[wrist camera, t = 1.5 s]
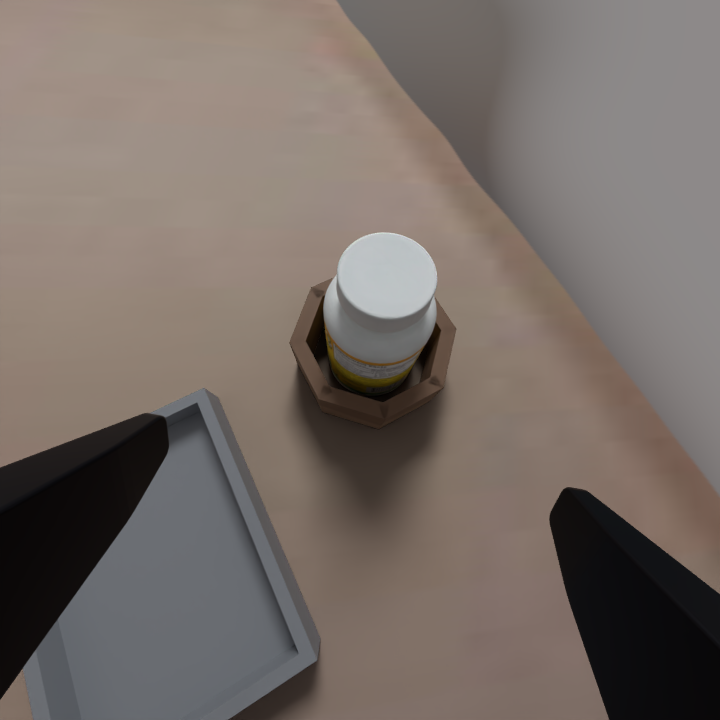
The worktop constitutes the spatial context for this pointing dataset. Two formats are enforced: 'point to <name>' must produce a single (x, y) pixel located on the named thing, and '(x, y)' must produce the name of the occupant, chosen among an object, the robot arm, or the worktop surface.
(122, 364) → the worktop surface
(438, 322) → the cup holder
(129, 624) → the tray
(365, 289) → the supplement bottle
